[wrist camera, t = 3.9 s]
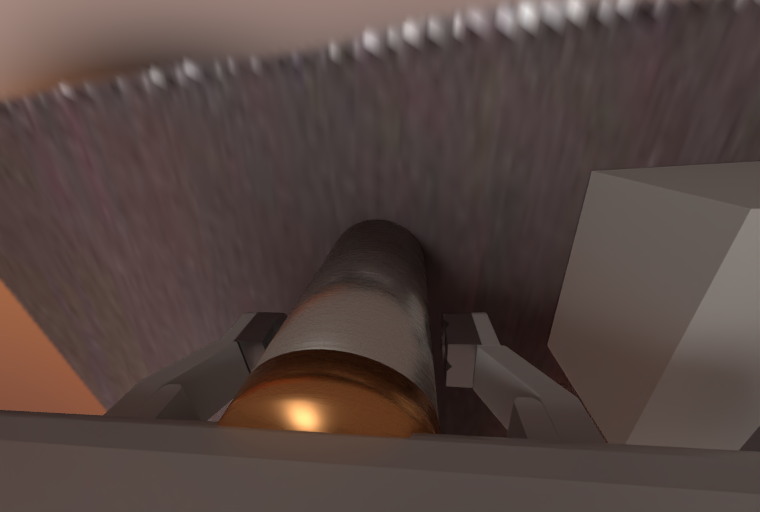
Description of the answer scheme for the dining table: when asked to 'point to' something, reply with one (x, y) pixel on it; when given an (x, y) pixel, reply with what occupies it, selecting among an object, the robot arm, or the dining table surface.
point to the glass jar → (351, 346)
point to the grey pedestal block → (666, 306)
